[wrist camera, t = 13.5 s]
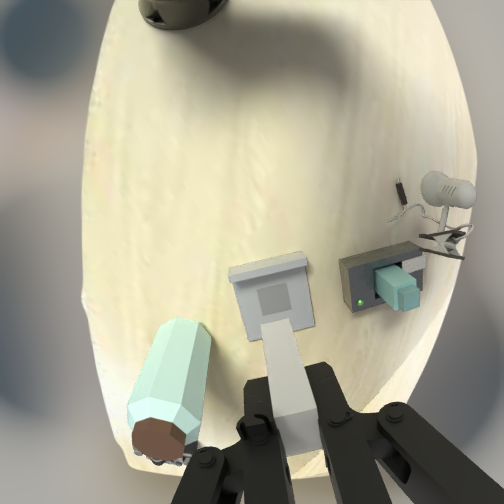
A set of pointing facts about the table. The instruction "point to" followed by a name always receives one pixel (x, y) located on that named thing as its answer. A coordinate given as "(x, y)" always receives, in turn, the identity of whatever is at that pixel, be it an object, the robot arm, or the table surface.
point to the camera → (187, 454)
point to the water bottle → (170, 390)
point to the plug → (396, 287)
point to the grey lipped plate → (273, 293)
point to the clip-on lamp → (438, 194)
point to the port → (361, 272)
